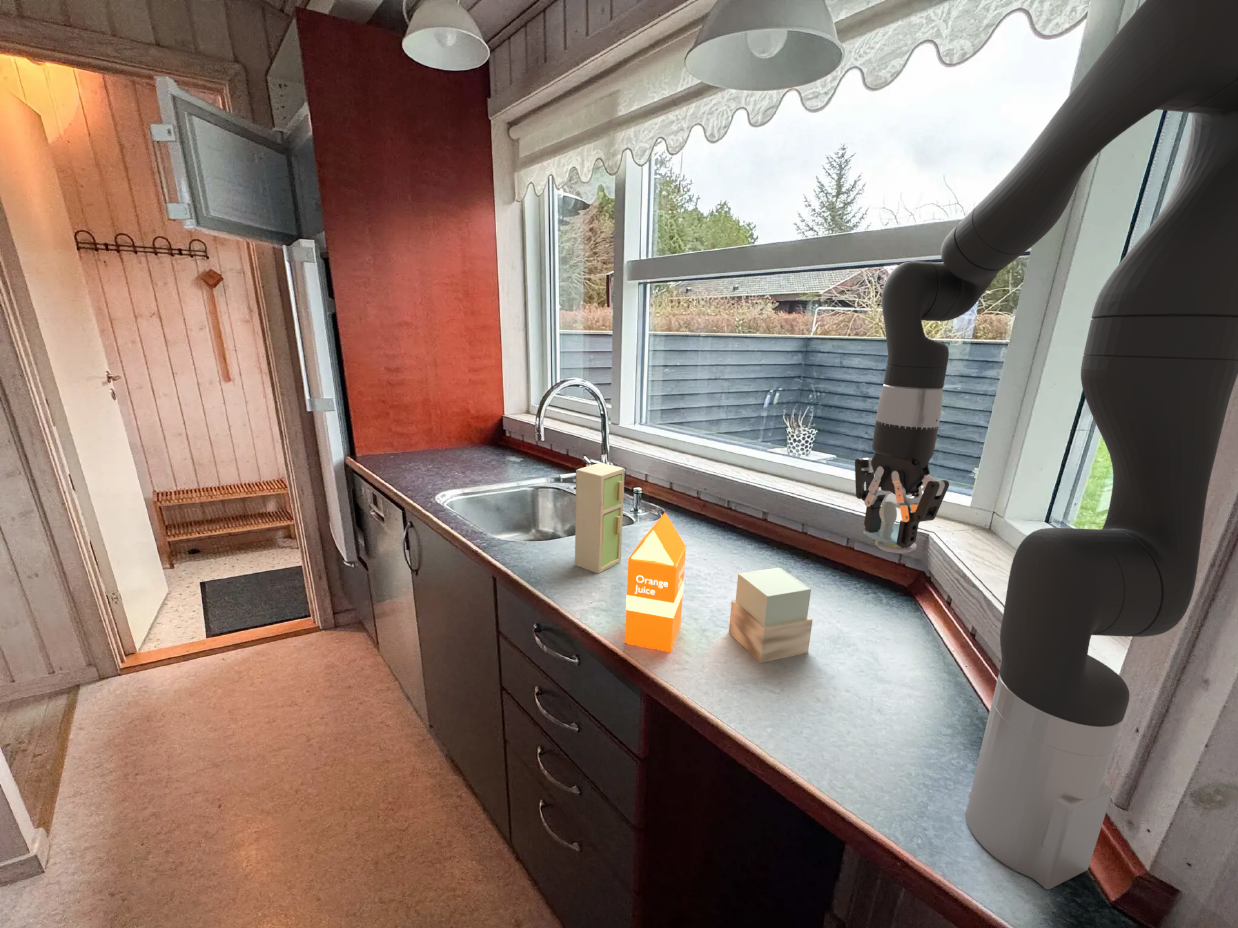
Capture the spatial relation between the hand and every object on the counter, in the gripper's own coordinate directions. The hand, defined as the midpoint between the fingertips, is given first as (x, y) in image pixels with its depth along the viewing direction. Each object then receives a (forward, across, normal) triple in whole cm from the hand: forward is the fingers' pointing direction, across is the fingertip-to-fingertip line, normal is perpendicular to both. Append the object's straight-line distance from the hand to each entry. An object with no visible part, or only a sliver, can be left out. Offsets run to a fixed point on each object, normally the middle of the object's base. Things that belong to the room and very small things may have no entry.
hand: (887, 537), depth 77 cm
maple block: (+21, +11, +10) cm, 26 cm away
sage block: (+15, +11, +10) cm, 21 cm away
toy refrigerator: (+21, +47, +27) cm, 58 cm away
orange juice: (+21, +19, +27) cm, 39 cm away
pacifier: (+1, -1, 0) cm, 1 cm away
